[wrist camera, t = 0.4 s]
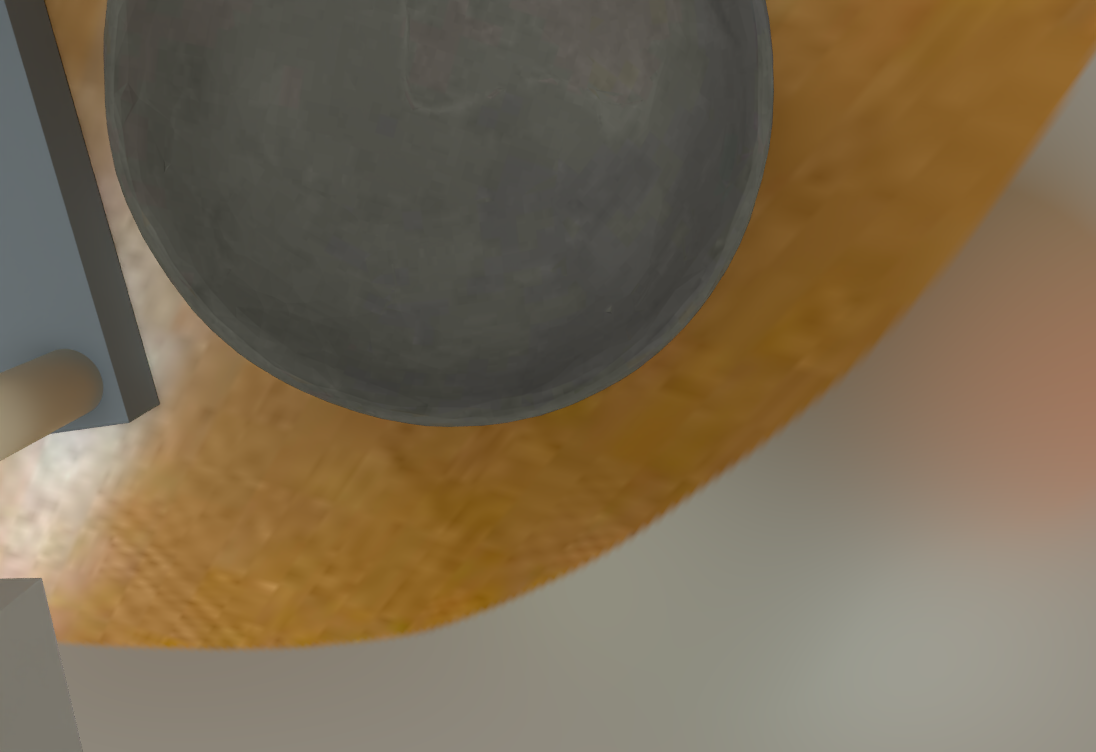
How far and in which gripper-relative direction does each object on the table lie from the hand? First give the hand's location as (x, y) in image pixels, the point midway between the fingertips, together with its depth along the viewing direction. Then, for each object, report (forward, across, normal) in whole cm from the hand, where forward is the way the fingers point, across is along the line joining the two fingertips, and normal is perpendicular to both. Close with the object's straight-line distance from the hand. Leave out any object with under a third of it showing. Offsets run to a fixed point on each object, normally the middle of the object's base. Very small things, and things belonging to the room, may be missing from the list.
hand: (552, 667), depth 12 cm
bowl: (+28, -5, +7) cm, 29 cm away
